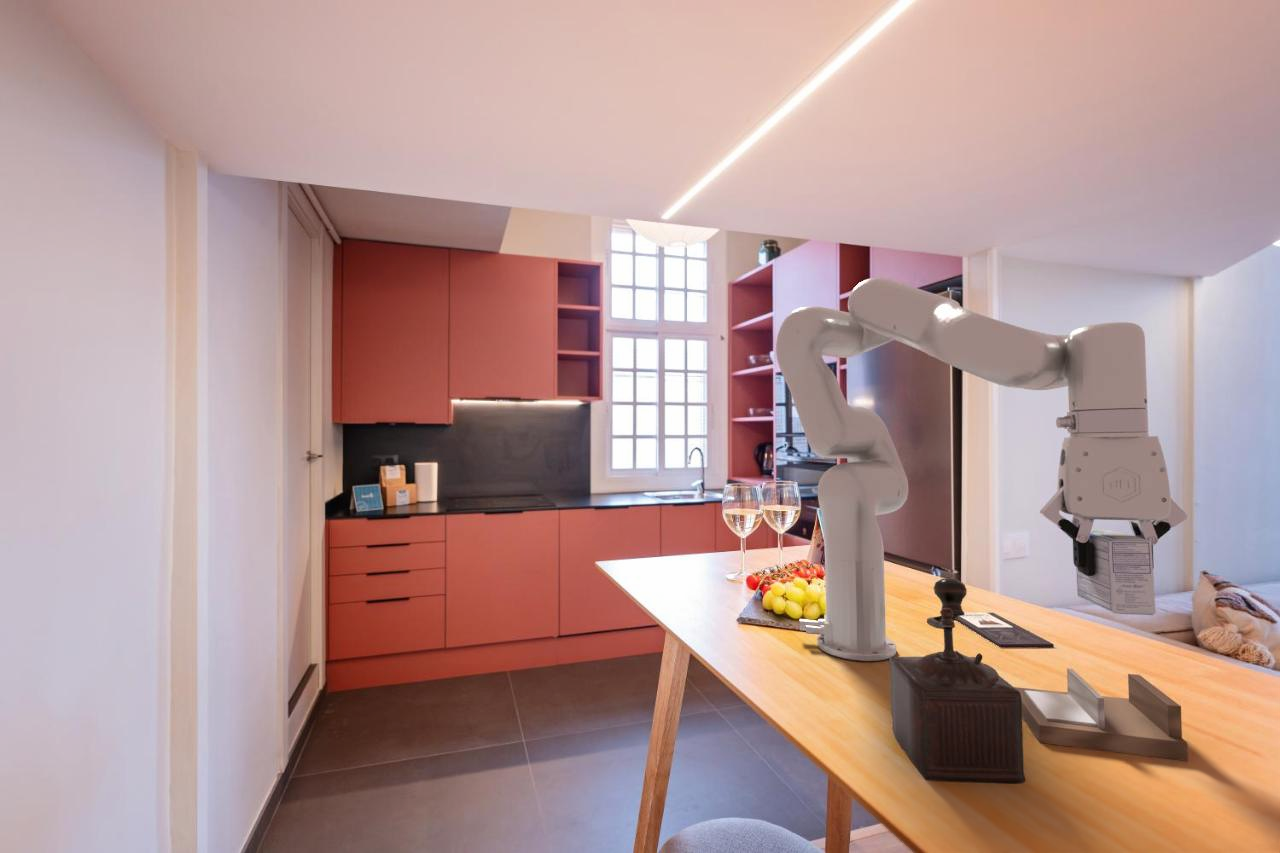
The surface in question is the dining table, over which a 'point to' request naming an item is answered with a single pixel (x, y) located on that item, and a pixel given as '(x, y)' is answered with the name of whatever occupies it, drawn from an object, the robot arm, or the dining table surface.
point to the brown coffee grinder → (956, 708)
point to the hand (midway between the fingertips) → (1112, 573)
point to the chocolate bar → (1001, 631)
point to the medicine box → (1120, 574)
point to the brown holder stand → (1107, 718)
